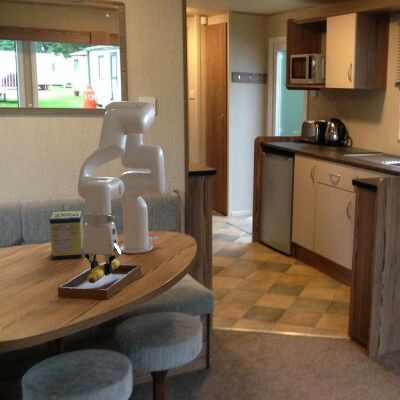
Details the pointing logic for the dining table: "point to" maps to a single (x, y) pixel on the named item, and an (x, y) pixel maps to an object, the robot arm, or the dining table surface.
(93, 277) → the banana
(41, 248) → the dining table surface
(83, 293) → the tray
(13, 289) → the dining table surface
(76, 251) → the protein box
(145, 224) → the robot arm
